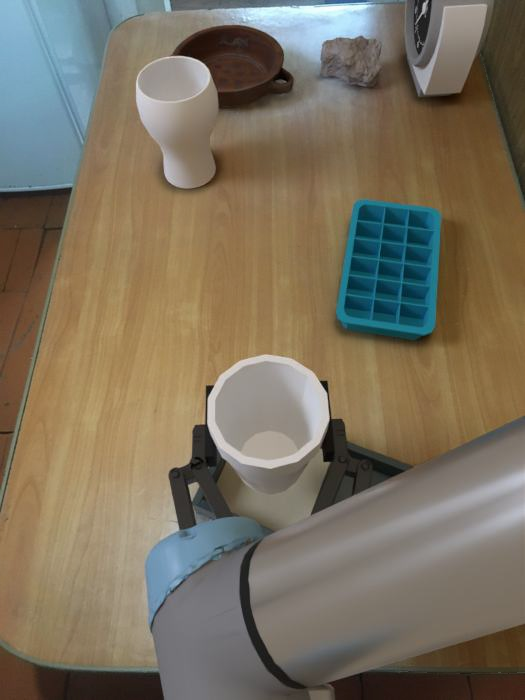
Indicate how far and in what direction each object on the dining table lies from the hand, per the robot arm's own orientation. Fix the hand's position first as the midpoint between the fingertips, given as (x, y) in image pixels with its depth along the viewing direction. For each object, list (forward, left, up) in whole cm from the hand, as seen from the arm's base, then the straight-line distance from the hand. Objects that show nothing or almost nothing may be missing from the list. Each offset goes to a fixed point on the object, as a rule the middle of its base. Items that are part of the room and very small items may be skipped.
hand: (266, 389), depth 50 cm
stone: (+12, -65, -14) cm, 68 cm away
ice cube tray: (-5, -27, -14) cm, 31 cm away
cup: (+27, -35, -14) cm, 47 cm away
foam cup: (-2, +4, -7) cm, 8 cm away
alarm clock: (0, -70, -14) cm, 71 cm away
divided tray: (-8, +4, -13) cm, 16 cm away
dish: (+30, -56, -14) cm, 65 cm away
